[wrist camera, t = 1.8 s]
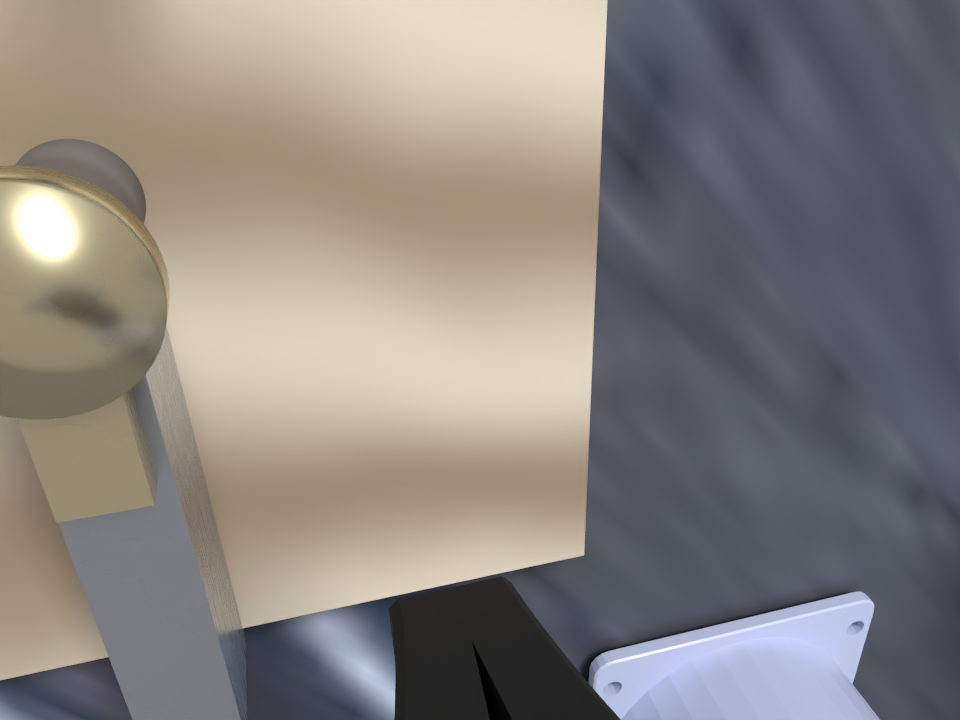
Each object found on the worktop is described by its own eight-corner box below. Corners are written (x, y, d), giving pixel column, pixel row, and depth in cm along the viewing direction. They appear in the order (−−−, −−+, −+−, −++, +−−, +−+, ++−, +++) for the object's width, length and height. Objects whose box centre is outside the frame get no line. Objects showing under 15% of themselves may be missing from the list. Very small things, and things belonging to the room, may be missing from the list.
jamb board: (571, 530, 19) (634, 651, 16) (-62, 662, 16) (-126, 834, 13) (608, -642, 10) (772, -870, 7) (-827, -777, 7) (-1582, -1247, 4)
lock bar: (-71, 116, 11) (-176, 199, 8) (157, 97, 11) (133, 168, 8) (128, 664, 16) (106, 829, 13) (276, 632, 17) (285, 784, 14)
